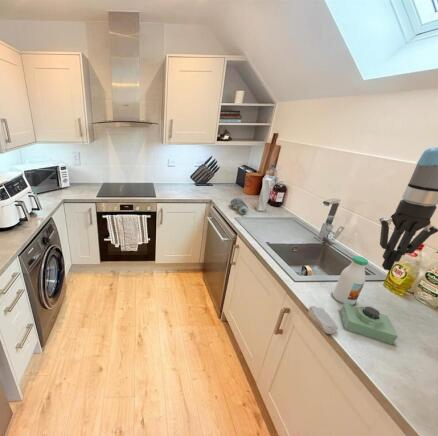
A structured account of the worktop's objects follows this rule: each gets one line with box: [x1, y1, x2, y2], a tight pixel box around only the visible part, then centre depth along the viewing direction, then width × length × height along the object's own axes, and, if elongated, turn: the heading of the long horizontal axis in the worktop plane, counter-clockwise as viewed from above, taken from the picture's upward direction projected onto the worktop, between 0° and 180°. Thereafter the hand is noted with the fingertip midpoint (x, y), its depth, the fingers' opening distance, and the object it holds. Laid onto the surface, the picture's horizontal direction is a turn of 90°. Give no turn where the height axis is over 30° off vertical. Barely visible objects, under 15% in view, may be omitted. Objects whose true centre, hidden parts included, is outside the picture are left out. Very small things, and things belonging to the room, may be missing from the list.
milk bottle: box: [332, 255, 369, 306], centre depth 95 cm, size 8×8×20 cm
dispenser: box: [339, 303, 399, 345], centre depth 85 cm, size 13×10×6 cm
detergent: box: [230, 197, 249, 215], centre depth 191 cm, size 13×7×25 cm
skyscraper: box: [255, 174, 274, 213], centre depth 188 cm, size 8×8×28 cm
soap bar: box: [307, 305, 339, 335], centre depth 87 cm, size 10×6×6 cm, turn 173°
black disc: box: [363, 306, 381, 319], centre depth 84 cm, size 4×4×2 cm
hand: (386, 267), depth 79 cm, fingers closed
